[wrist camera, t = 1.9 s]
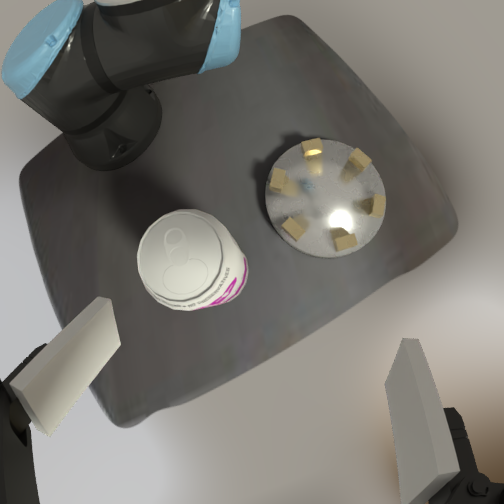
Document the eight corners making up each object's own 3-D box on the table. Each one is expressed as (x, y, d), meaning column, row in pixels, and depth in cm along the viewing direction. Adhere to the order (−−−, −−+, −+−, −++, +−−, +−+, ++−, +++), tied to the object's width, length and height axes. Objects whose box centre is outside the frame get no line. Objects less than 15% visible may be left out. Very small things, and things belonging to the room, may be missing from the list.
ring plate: (252, 241, 38) (250, 237, 35) (280, 133, 40) (280, 122, 37) (371, 271, 37) (378, 269, 34) (388, 161, 39) (395, 152, 36)
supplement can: (258, 292, 38) (247, 292, 23) (193, 312, 38) (145, 323, 23) (237, 228, 39) (215, 189, 24) (174, 249, 39) (120, 225, 24)
